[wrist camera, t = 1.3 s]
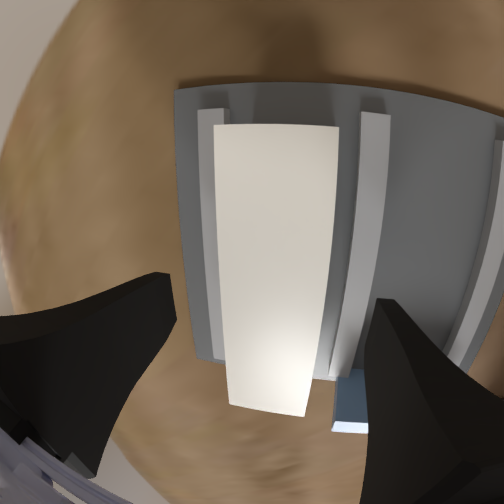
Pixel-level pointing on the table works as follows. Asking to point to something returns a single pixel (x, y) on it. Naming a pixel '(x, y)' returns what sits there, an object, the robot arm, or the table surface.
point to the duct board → (364, 218)
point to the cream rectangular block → (273, 256)
